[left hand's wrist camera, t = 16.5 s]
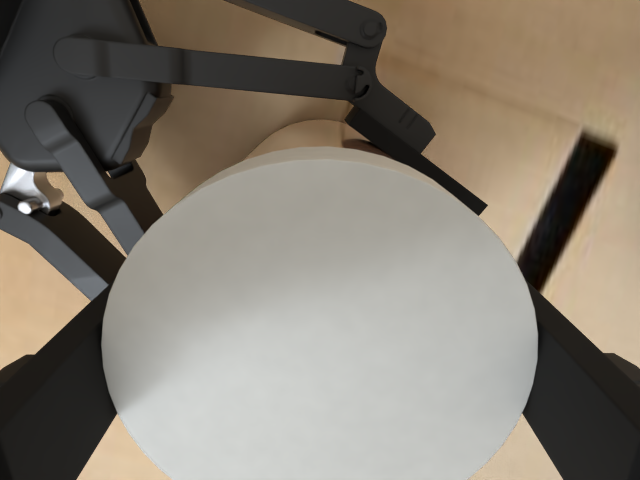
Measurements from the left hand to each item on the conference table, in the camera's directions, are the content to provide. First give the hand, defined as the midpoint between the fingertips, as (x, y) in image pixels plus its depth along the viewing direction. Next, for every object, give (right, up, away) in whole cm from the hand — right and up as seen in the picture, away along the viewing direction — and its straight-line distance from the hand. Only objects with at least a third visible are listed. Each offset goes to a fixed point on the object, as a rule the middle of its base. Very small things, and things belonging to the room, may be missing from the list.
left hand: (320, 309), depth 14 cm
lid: (0, -1, -3) cm, 3 cm away
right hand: (+4, 0, +6) cm, 7 cm away
